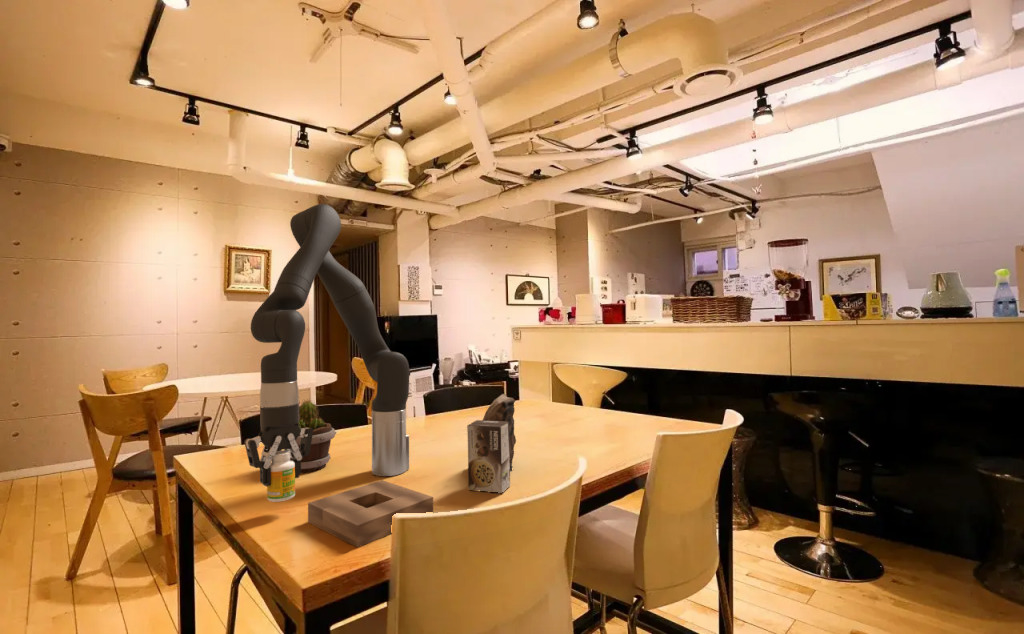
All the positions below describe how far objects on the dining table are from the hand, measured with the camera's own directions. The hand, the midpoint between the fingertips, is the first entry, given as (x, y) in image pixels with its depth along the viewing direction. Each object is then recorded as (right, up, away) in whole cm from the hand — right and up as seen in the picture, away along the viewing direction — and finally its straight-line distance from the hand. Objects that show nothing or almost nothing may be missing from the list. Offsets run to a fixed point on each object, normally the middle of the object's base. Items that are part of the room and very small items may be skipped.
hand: (281, 481), depth 101 cm
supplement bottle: (0, -4, 0) cm, 4 cm away
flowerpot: (-9, -8, +34) cm, 36 cm away
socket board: (+20, -7, -3) cm, 22 cm away
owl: (+44, -8, +33) cm, 56 cm away
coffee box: (+44, -7, +15) cm, 47 cm away
